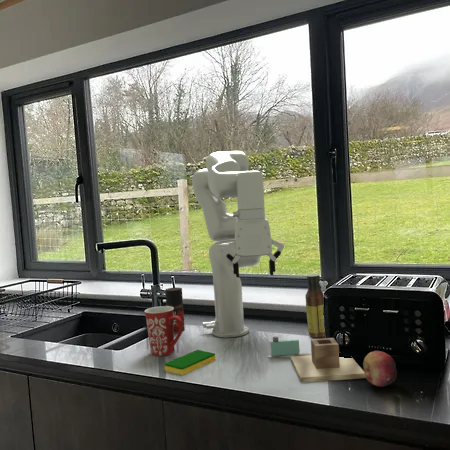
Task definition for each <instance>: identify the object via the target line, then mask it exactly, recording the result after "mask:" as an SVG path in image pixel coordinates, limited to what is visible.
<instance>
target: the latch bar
mask: <svg viewBox="0 0 450 450" xmlns="http://www.w3.org/2000/svg"><path fill="white" fill-rule="evenodd" d="M269 342H270V356H280V355H295V354H300V341H299V339H284V340H279V336H273V337H272V340H270V341H269Z"/></svg>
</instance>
